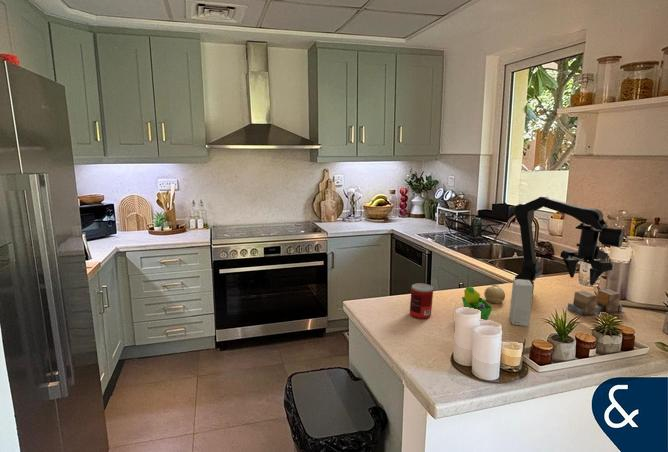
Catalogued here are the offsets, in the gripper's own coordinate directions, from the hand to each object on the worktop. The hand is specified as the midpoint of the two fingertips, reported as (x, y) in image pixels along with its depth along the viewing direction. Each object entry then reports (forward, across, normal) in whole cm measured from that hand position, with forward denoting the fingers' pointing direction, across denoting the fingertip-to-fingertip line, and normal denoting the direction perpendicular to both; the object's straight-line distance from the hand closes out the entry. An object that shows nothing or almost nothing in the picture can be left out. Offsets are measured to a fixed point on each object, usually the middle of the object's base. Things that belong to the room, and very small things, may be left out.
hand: (581, 281), depth 157 cm
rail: (+12, -4, -5) cm, 13 cm away
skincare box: (+12, -5, +31) cm, 34 cm away
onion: (+12, +14, +28) cm, 33 cm away
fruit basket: (+12, +3, +44) cm, 46 cm away
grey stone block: (+11, -4, +1) cm, 11 cm away
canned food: (+12, +6, +64) cm, 66 cm away
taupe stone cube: (+11, -3, -11) cm, 15 cm away
